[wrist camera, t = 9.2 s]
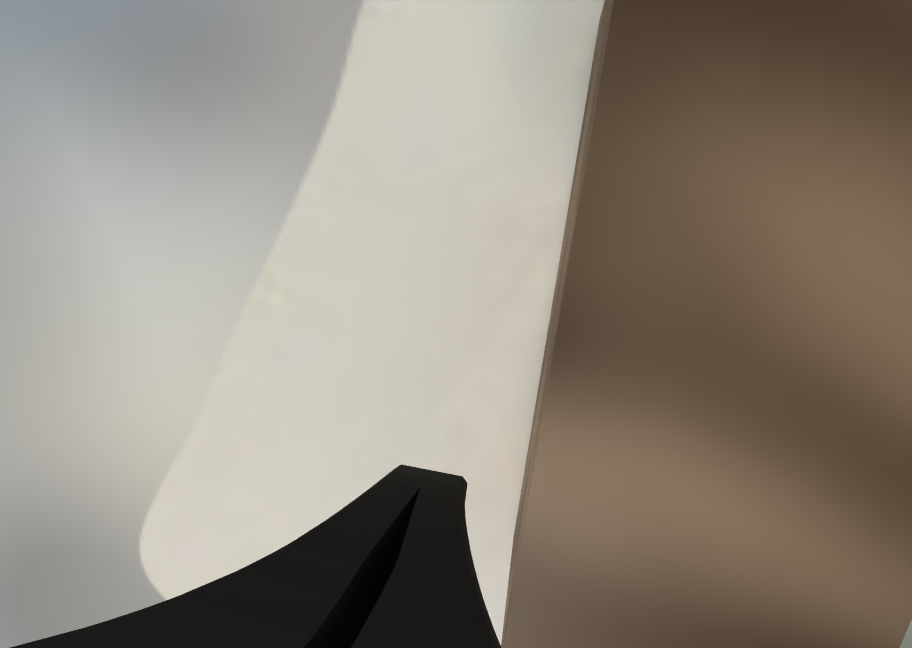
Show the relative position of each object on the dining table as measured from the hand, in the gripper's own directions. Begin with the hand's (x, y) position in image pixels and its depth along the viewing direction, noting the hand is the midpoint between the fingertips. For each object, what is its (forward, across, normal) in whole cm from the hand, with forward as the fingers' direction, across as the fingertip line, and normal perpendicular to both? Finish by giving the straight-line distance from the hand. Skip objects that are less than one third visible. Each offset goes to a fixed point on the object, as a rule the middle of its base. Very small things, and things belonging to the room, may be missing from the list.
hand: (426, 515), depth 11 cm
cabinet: (+9, -6, -2) cm, 12 cm away
